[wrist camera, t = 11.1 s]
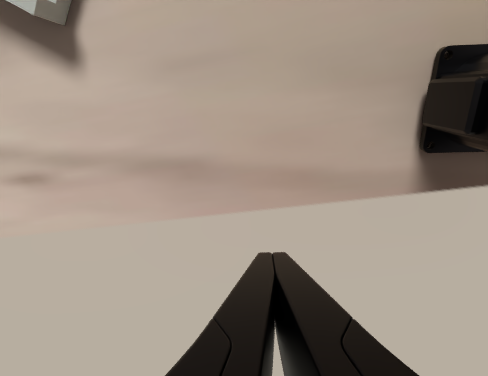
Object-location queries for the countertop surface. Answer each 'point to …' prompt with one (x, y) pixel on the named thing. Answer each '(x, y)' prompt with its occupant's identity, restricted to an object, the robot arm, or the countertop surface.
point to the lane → (45, 9)
